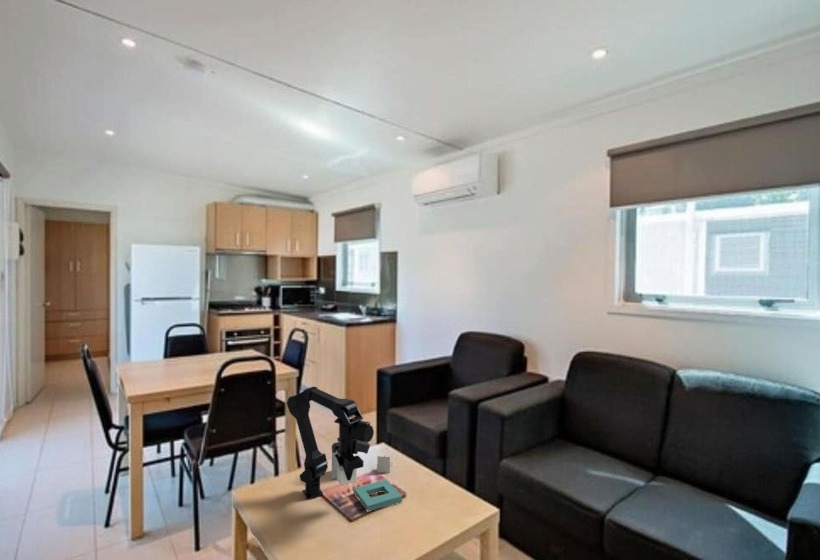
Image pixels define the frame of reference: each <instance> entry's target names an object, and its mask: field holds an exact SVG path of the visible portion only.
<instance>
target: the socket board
mask: <svg viewBox="0 0 820 560" xmlns="http://www.w3.org/2000/svg"><path fill="white" fill-rule="evenodd" d="M379 491H384V492H385V493H386V494H384V493H382V494H381V495H380V494H379V495H377V496H374V497H371V496H369V494H372V493H376V492H379ZM354 493H355V494H356V496H357V497H358V498H359V499H360V501H361V502H362V504H363V505H364V506H365V508H366V509H367V510H368V511H369V510H373V509H376V508H381V507H385V506H389V505H392V504H395V505H397V504H396V503H399V504H401V503H400V502H402V503H403V495H402V494H401V493H400V492H399V491H398V490H397V489H396V488H395V487H394V486H393V484H391V483H390V482H389V480H387V479H382V480H379V481H374V482H371V483H367V484H363V485H359V486H357V487H356V486H355V487H354V488H353V494H354ZM362 504H361V505H362ZM392 506H393V505H392ZM389 507H390V506H389ZM365 508H364V509H365ZM385 508H386V507H385Z"/></svg>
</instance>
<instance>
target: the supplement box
mask: <svg viewBox="0 0 820 560" xmlns="http://www.w3.org/2000/svg"><path fill="white" fill-rule="evenodd" d="M337 442H338V441H337ZM337 442H334V443H337ZM336 454H337V451H336V452H335V453H333V451H332V450H331V479H332V480H333V479H335V480H337V467H340V466H339V463H338V461H337V459H336V457H335V455H336Z"/></svg>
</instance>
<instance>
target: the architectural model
mask: <svg viewBox="0 0 820 560" xmlns="http://www.w3.org/2000/svg"><path fill="white" fill-rule="evenodd" d="M376 460H377V462H376V472H377V473H382V474H383V473H385V474H386V473H387V474H391V467H394V464H395V462H394V461H391V457H390V456H387V455H386V454H385V455H384V456H383V455H382V456H379V455H378V456H377V459H376Z"/></svg>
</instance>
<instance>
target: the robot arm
mask: <svg viewBox="0 0 820 560" xmlns="http://www.w3.org/2000/svg"><path fill="white" fill-rule="evenodd" d="M311 401H313V402H314V403H317V404H318V405H320V406H323V407H324V408H326V409H329V410H331V412H332V414H333V415H334V416H335V417H336V419H334V423H335V424H338V425H339V426H338V436H339V437H337V443H335V442H333V444H332V445H331V452H332V451H333V453H335V452H336V451H337V454H336V455H335V457H336V459H337V461H338V463H339V466H342V467H343V470H344V472H345V475H346V478H347V480H348V481H349V480H351V477H352V474H353V470H354V469H357V470H358V469H360V468H364V465H365V464H364V460H363V459H362V458H361V457H360V456H359V455H357V454H359V453H364V454H367V455H368V453H369V450H370V447H371V444H370V443H369V442H371V440H372V439H373V436H374V432H375V431H374V427H373V426H372V425H371V422H370V421H364V420H363V419H364V416H363V414H362V413H361V410H360V409H359V408H358V405H357V403H356V401H354V400H353V399H349V398H339V397H337V396H335V395H332V394H329V393H327V392H326V391H323V390H321V389H319V388H318V387H317V386H311V387H307V388H305V389H304V390H302V391H301V392H299V393H297V394H293V395H291V396H290V397H288V399H287V401H286V405H287V409H288V410H289V414H290V415H291V416H292V417H293V418H295V420H296V424H297V428H298V431H299V435H300V438H301V442H302V446H303V449H304V453H305V454H304V455H305V457H304V462H303V466H304V471H302V473H301V474H299V481H300V482H302V483H305V485H304V486H305V487H304V489H303V490H302V493H303V495H304V497H305V499H306V500H309V499H313V498H317V497H321V496H323V495H324V493H323V491H322V490H321V477H323V476H325V474H326V473H327V472H326V471H327V470H328V467H329V465H328V464H329V462H328V459H327V456H326V454H325V453H322V452H321V451H320V450H319V447H318V443H317V441H316V436H315V433H314V429H313V426H312V422H311V418H310V415H309V414H310V409H311V403H310V402H311ZM322 494H323V495H322Z"/></svg>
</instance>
